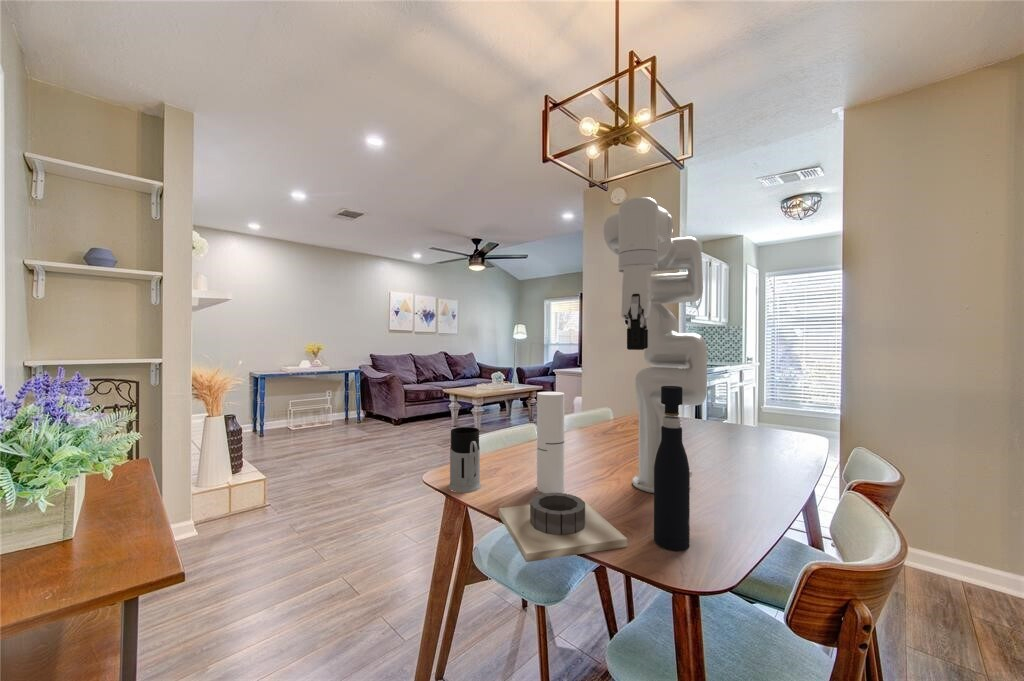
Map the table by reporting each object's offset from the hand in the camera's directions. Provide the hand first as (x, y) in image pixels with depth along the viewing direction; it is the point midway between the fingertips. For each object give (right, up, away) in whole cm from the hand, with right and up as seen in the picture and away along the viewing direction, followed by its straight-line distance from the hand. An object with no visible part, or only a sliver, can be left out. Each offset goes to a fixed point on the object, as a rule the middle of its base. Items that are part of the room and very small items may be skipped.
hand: (637, 349), depth 81 cm
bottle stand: (-16, -37, +3) cm, 40 cm away
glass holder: (-37, -37, +25) cm, 58 cm away
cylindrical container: (-15, -37, +26) cm, 48 cm away
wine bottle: (+6, -37, -3) cm, 38 cm away
